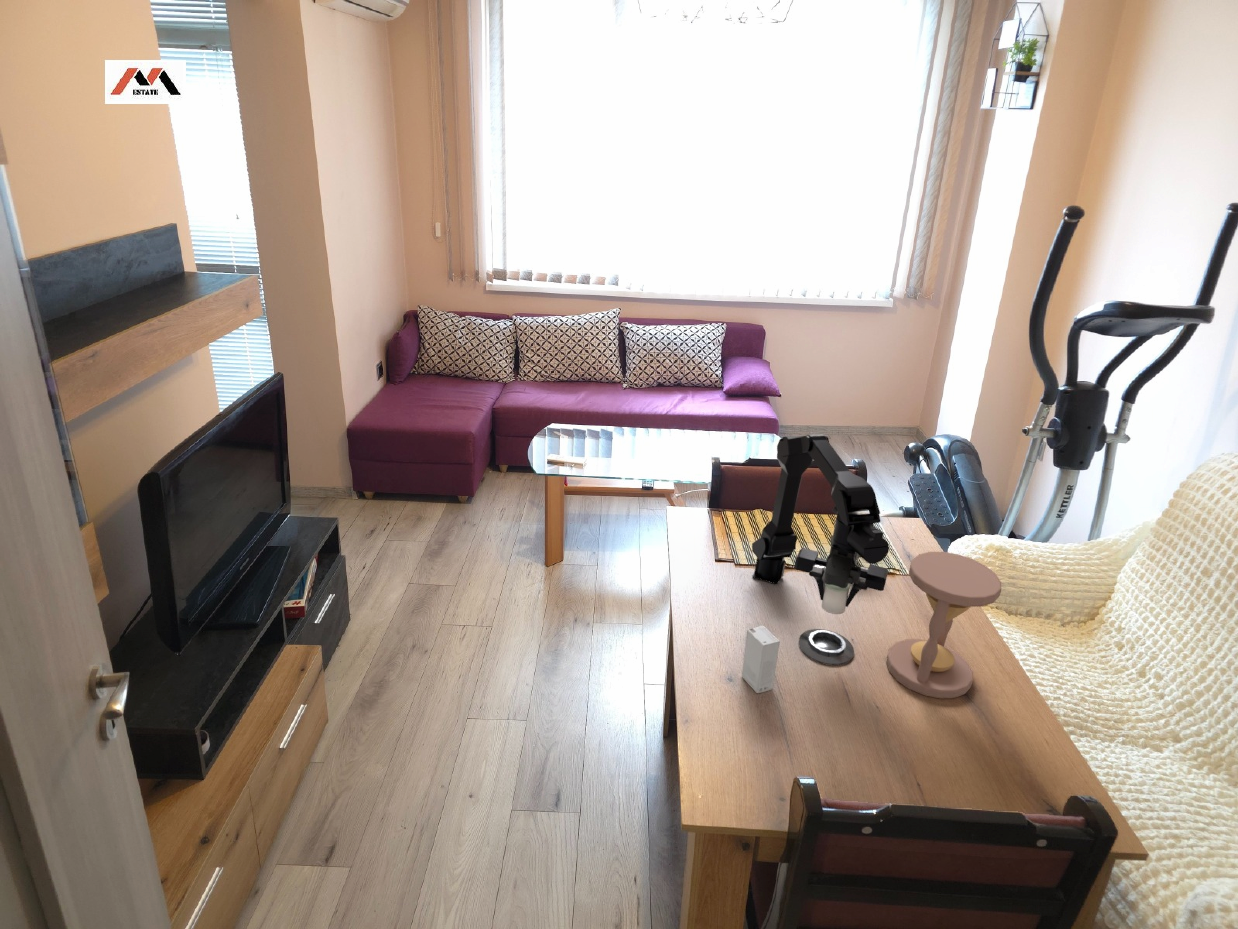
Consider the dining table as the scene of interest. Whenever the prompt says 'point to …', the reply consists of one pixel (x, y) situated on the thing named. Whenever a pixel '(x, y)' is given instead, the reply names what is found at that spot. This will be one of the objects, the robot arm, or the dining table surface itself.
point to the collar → (826, 647)
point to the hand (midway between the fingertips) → (834, 602)
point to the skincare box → (760, 659)
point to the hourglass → (942, 623)
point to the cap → (835, 599)
